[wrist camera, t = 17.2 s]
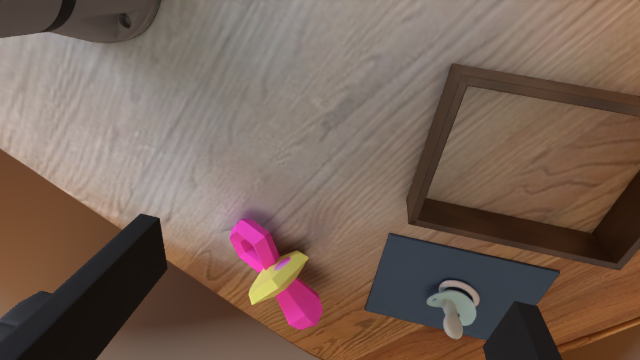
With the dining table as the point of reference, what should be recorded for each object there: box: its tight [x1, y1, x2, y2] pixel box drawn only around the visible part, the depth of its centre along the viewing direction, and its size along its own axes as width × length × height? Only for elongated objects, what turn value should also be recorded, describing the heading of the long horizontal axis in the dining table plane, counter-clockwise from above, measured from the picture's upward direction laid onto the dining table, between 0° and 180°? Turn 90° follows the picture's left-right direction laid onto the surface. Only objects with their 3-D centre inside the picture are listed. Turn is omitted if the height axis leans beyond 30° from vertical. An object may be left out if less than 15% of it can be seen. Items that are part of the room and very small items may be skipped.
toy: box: [230, 219, 323, 330], centre depth 45 cm, size 10×18×10 cm, turn 46°
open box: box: [406, 64, 640, 270], centre depth 33 cm, size 23×17×5 cm
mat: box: [365, 233, 560, 340], centre depth 47 cm, size 22×16×1 cm
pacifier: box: [427, 280, 480, 339], centre depth 44 cm, size 7×6×6 cm
